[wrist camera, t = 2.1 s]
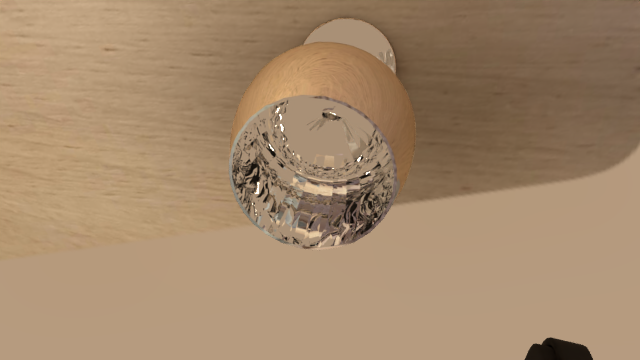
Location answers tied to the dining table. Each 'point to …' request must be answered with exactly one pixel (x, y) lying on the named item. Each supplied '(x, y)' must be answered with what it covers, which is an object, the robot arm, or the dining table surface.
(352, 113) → the wineglass
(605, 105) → the dining table surface
